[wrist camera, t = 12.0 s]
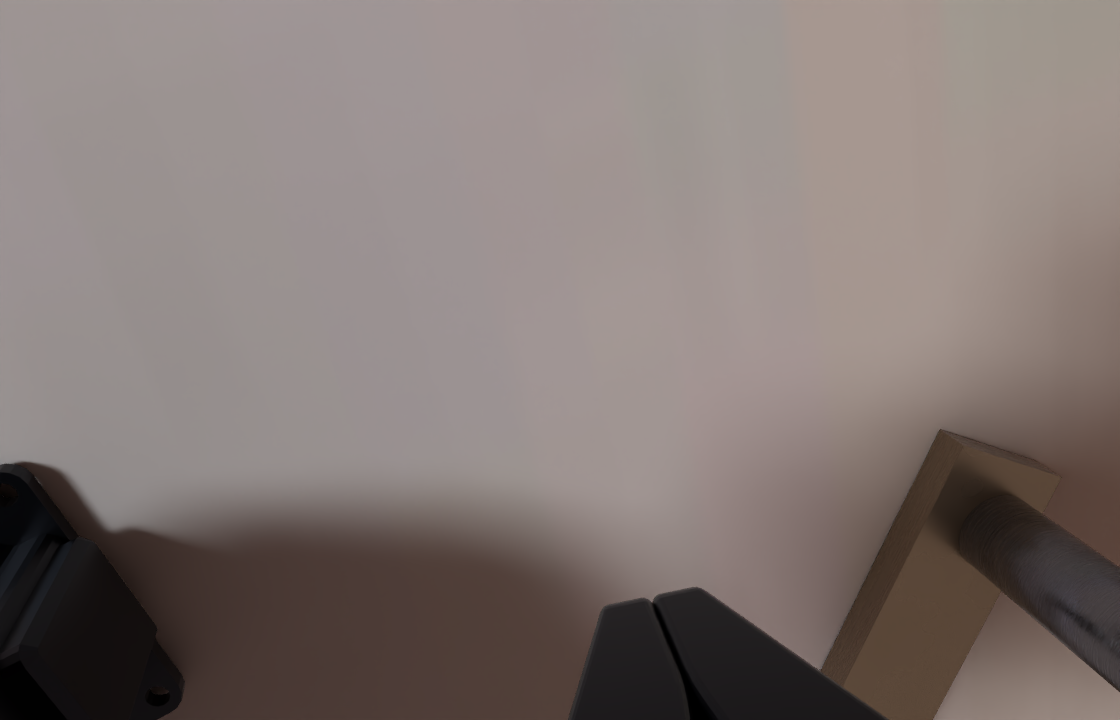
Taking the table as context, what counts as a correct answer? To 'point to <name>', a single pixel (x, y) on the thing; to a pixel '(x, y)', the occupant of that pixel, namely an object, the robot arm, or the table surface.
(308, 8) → the table surface
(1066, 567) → the gate frame
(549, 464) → the table surface
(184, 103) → the table surface
